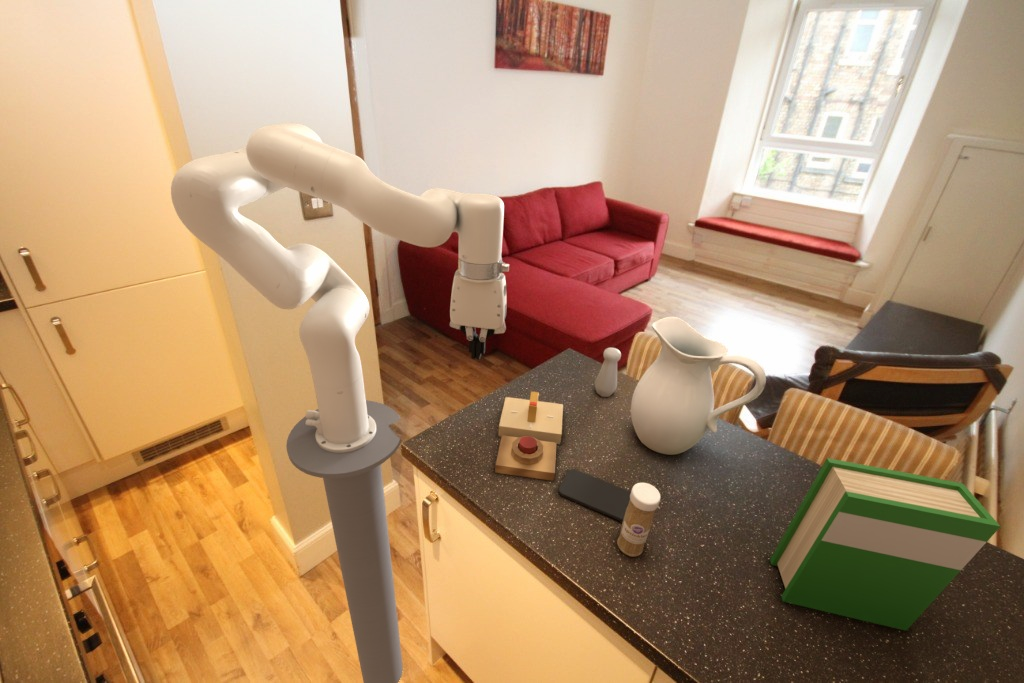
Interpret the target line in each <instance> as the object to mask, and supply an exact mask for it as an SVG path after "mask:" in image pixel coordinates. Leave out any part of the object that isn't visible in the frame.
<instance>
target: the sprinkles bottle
mask: <svg viewBox="0 0 1024 683" xmlns="http://www.w3.org/2000/svg"><path fill="white" fill-rule="evenodd" d="M630 492H631V494H630V501H629V504H628V507H627V509H626V513H625V516H624V520H623V522H621V523H622V524H621V528H620V532H619V536H618V538H617V540H616V544H617V547H618V548H619V550H620V551H621V553H623V554H624V555H626V556H628V557H633V558H634V557H639V556H640V555H642V553H643V552H644V546H645V543H646V541H647V539H648V536H649V534H650V530H651V528H652V524H653V520H654V516H655V513H656V511H657V509H658V508H659V505H660V502H661V496H662V495H661V492H660V491H659V490H658V488H656V487H655V486H654V485H652V484H651V483H649V482H637V483H635V484H634V485H633V486H632V487H631V491H630Z"/></svg>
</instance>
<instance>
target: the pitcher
mask: <svg viewBox="0 0 1024 683" xmlns="http://www.w3.org/2000/svg"><path fill="white" fill-rule="evenodd" d="M651 328H652V329H653V331H654V332H655V334H656V335H657V337H658V339H659V341H660V346H661V347H660V352H659V354H658V356H657V357H656V358H655V360H654V361H653V362H652V363H651V364H650V366H648V368H647V369H646V370H645V372H644V373H643V375H642V376H641V377H640V378H639V380H638V383H637V384H636V386H635V388H634V391H633V394H632V397H631V402H630V417H631V423H632V426H633V429H634V432H635V434H636V436H637V438H638V439H639V441H640V442H641V443H642V444H643V445H644V446H645V447H647V448H648V449H650V450H651V451H654V452H656V453H659V454H662V455H670V456H674V455H679V454H682V453H685V452H686V451H688V450H689V449H691V448H692V447H694V446H695V445H696V444H698V443H699V442H700V441H701V440H702V439H703V438H704V436H705V434H706V433H707V431H708V430H709V431H710V432H712V433H713V434H716V433H717V432H718V427H717V419H718V418H719V417H720V416H722V415H723V414H725V413H728V412H730V411H733V410H735V409H737V408H740V407H742V406H745V405H747V404H749V403H751V402H753V401H754V400H756V399H758V397H759V396H760V395H761V394H762V393H763V391H764V389H765V387H766V384H767V375H766V372H765V370H764V368H763V366H762V365H761V363H759V362H758V361H757V360H756V359H754V358H752V357H750V356H747V355H745V354H728V352H729V348H728V347H727V345H726V344H724V343H722V342H720V341H718V340H713V339H710V338H708V337H707V336H704V335H702V333H700V332H699V331H697V330H696V329H695V328H694V327H693V326H691V325H690V324H689V323H688V322H686V321H685V320H683V319H682V318H680V317H677V316H667V317H663V318H661V319H658V320H656V321H654V322H653V323H652V324H651ZM726 364H734V365H735V364H736V365H739V366H742V367H743V368H744V367H745V368H746V369H747V370H749V371H750V372H751V373H752V375H753V376H754V378H755V385H754V387H753V388H752V389H751V390H750V391H749V392H748V393H747V394H745V395H743V396H741V397H739V398H737V399H735V400H733V401H730V402H728V403H725V404H724V405H721V406H719V407H717V408H715V395H714V394H715V393H714V385H713V377H712V373H715V372H717V371H718V370H719V368H720V367H721V365H726ZM714 408H715V409H714Z"/></svg>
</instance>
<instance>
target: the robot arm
mask: <svg viewBox="0 0 1024 683" xmlns="http://www.w3.org/2000/svg"><path fill="white" fill-rule="evenodd" d="M285 188H288V189H291V190H293V191H296V192H298V193H303V194H305V195H308V196H310V197H314V198H316V199H318V200H321V201H324V202H327V203H328V204H329V203H330V204H332V205H335V206H337V207H340V208H343V209H345V210H346V211H348V213H350V214H351V215H352V217H354V218H356V219H357V220H359V221H360V222H362V223H363V224H365V225H366V226H368V227H369V228H370V229H373V230H375V231H376V232H379V233H381V234H382V235H385V236H388V237H391V238H394V239H397V240H399V241H401V242H403V243H407V244H410V245H413V246H417V247H421V248H436V247H439V246H441V245H443V244H445V243H446V242H447V241H448V240H449V239H450V238H451V236H452V233H457V236H458V254H457V255H458V261H457V264H458V266H457V269H456V271H455V272H454V275H453V280H452V286H451V294H450V295H451V296H450V304H449V305H450V306H449V318H450V321H449V327H450V328H453V329H456V330H460V331H461V333H462V334H464V336H466V340H468V353H470V357H471V360H475V359H476V360H479V361H480V359H481V357H482V355H485V352H486V342H487V341H486V340H488V339H489V338H490V337H492V336H493V335H500V334H504V333H505V332H506V330H507V326H506V325H507V324H506V321H505V320H506V317H507V303H508V302H507V301H508V300H507V298H508V297H507V281H506V275H505V273H504V272H509V271H510V264H509V263H506V262H504V260H503V257H502V256H503V255H502V254H503V253H502V252H503V236H504V235H503V234H504V220H505V219H504V218H505V204H504V201H503V200H502V198H500V197H499V196H497V195H495V194H490V193H483V192H482V193H481V192H476V193H475V192H474V193H473V192H472V193H466V192H462V191H461V192H460V191H457V190H452V189H447V188H443V187H431V188H429V189H427V190H425V191H424V192H423V193H421V194H420V195H419V196H418V195H416V194H414V193H412V192H411V193H410V192H408V191H405V190H403V189H400V188H398V187H395V186H393V185H391V184H389V183H387V182H386V181H383V180H382V179H380V178H379V177H377V176H376V175H375V174H374V173H373V172H372V171H371V170H370V168H369V167H368V165H367V164H366V162H365V160H363V158H361V157H360V156H358V155H356V154H354V153H351V152H348V151H346V150H343V149H340V148H337V147H335V146H333V145H330V144H327V143H325V142H323V141H322V138H321V137H320V136H319V134H317V133H316V132H315V131H314V130H313V129H311V128H310V127H309V126H307V125H304V124H301V123H298V122H285V123H283V122H282V123H276V124H269V125H265V126H262V127H260V128H258V129H256V130H255V131H253V132H252V134H251V135H250V137H249V138H248V141H247V144H246V145H244V146H242V147H241V148H239V149H236V150H231V151H228V152H223V153H217V154H211V155H206V156H202V157H199V158H196V159H192V160H190V161H188V162H187V163H185V164H183V165H182V166H181V167H179V169H178V170H177V171H176V172H175V173H174V176H173V178H172V180H171V186H170V197H171V202H172V204H173V208H174V210H175V212H176V215H177V217H178V219H179V220H180V221H181V223H182V224H183V225H184V226H185V228H186V229H187V230H188V231H189V232H190V233H191V234H192V235H193V236H194V237H195V238H197V239H198V240H199V241H200V242H201V243H202V244H204V245H206V246H207V247H208V248H209V249H211V250H212V251H213V252H214V253H216V254H217V255H218V256H219V257H221V258H222V259H223V260H224V261H225V262H226V263H227V264H228V265H230V266H231V268H232V269H233V270H234V271H236V272H237V273H238V274H239V275H240V276H241V277H242V278H243V279H244V280H245V281H247V283H249V284H250V285H251V286H252V287H253V288H254V289H255V290H256V291H258V293H260V294H261V295H262V296H263V297H264V298H265V299H266V300H267V301H269V302H270V303H271V304H272V305H274V306H275V307H277V308H279V309H281V310H288V311H289V310H294V309H297V308H298V307H300V306H302V305H304V304H305V303H306V302H307V301H309V300H310V298H311V299H312V300H313V301H314V302H315V303H314V304H313V305H312V306H311V307H310V308H309V309H308V310H307V311H306V312H305V314H304V316H303V317H302V319H301V321H300V324H299V327H298V328H299V329H298V333H299V334H298V335H299V339H300V342H301V345H302V348H303V349H304V351H305V354H306V357H307V360H308V363H309V369H310V373H311V379H312V381H313V387H314V393H315V398H316V405H317V409H318V410H319V412H317V411H315V410H313V409H312V410H311V409H308V410H306V413H305V416H306V418H307V420H306V423H305V424H306V425H308V426H315V427H316V428H317V430H316V434H315V436H316V441H317V444H318V445H319V446H320V447H321V448H322V449H324V450H326V451H329V452H334V453H345V452H351V451H354V450H357V449H360V448H361V447H363V446H365V445H366V444H368V443H369V442H370V441H371V440H372V439H373V438H374V436H375V434H376V423H375V421H374V419H373V418H372V417H371V416H369V415H368V414H367V406H366V400H367V399H366V390H365V389H366V388H365V384H364V383H365V382H364V381H365V380H364V373H363V372H364V371H363V366H362V361H361V356H360V353H359V351H358V350H357V347H356V337H357V334H358V333H359V331H360V329H361V328H362V326H363V325H364V323H365V322H366V320H367V318H368V317H369V315H370V309H371V308H370V302H369V299H368V298H367V296H366V294H365V292H364V291H363V289H362V288H361V287H360V286H359V285H358V284H357V283H356V282H355V281H354V280H353V279H352V278H351V277H350V276H349V275H348V273H346V272H345V270H343V269H342V268H341V267H340V265H338V264H337V262H336V261H334V260H333V258H332V257H330V256H329V255H328V254H327V253H326V252H325V251H323V249H320V248H319V247H317V246H315V245H312V244H309V243H304V242H302V243H301V242H300V243H295V244H290V245H289V246H287V247H284V246H283V245H282V244H281V243H280V242H278V241H277V240H276V239H275V237H273V236H272V234H271V233H270V232H269V231H268V230H267V229H265V228H264V227H263V226H261V225H260V224H259V223H257V222H255V221H253V220H252V219H250V218H248V217H245V215H243V214H241V213H240V212H239V208H242V207H244V206H246V205H249V204H251V203H253V202H257V201H259V200H261V199H263V198H266V197H268V196H269V195H272V194H274V193H276V192H279V191H280V190H282V189H285ZM476 328H477V329H480V332H479V334H478V333H477V330H476ZM310 419H313V420H310ZM315 419H317V421H316V420H315Z"/></svg>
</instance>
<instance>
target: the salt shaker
mask: <svg viewBox="0 0 1024 683" xmlns="http://www.w3.org/2000/svg"><path fill="white" fill-rule="evenodd" d="M602 356H603V362H602V365H601V367H600V370H599V372H598V374H597V376H596V378H595V381H594V388H595V391H596V394H598V395H599V396H601V397H604V398H610V397H611V395H613V393H615V392H616V390H617V388H618V362H620V360H621V359H622V358H621V357H622V353H621V351H620V350H619V349H618V348H616V347H607V348H605V349H604V351H603V355H602Z"/></svg>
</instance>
